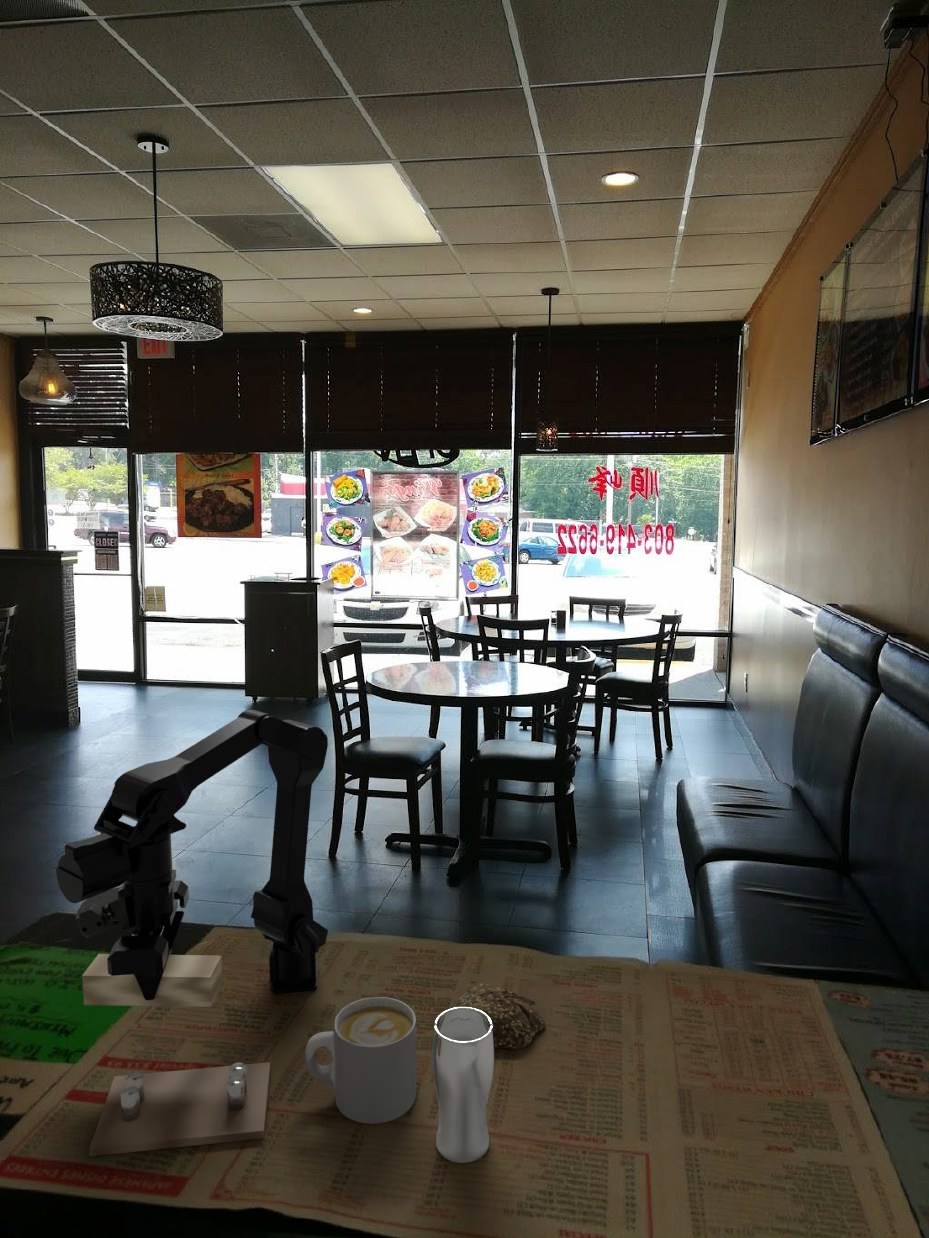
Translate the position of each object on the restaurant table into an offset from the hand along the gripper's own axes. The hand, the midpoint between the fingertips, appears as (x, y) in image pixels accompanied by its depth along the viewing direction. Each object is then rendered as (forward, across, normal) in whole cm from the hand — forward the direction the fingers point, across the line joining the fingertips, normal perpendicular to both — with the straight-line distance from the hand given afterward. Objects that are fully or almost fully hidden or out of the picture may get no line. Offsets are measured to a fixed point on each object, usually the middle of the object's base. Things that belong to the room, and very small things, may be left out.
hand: (154, 986), depth 113 cm
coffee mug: (+11, +9, +26) cm, 30 cm away
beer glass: (+11, +19, +37) cm, 43 cm away
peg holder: (+11, +9, +5) cm, 15 cm away
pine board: (+1, 0, 0) cm, 1 cm away
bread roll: (+11, -3, +45) cm, 46 cm away
